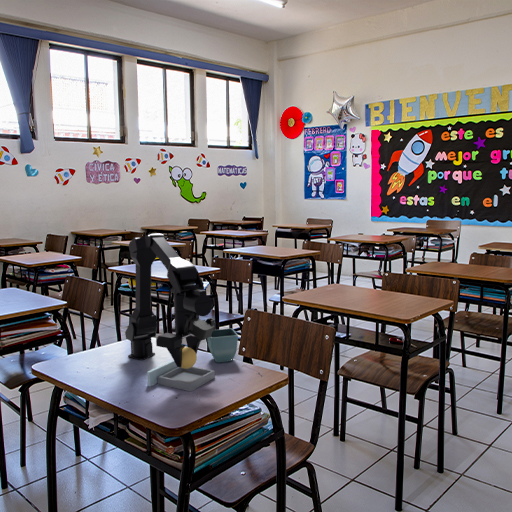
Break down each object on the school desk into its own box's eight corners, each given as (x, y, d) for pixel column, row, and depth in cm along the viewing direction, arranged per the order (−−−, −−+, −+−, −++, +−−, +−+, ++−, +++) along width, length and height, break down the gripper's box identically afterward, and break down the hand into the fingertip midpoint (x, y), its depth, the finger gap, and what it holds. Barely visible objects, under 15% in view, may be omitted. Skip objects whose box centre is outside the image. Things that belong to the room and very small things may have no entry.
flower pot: (211, 365, 153) (210, 337, 152) (206, 357, 161) (205, 330, 160) (239, 362, 155) (238, 335, 154) (232, 354, 164) (232, 328, 163)
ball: (171, 369, 139) (170, 348, 138) (184, 363, 144) (183, 343, 143) (188, 373, 136) (187, 351, 135) (201, 366, 141) (200, 346, 140)
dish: (158, 384, 138) (157, 376, 138) (183, 371, 148) (183, 364, 148) (191, 391, 133) (190, 383, 132) (214, 377, 143) (214, 370, 142)
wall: (147, 385, 137) (147, 371, 137) (179, 370, 149) (178, 357, 149) (150, 386, 137) (149, 372, 136) (181, 370, 149) (181, 357, 148)
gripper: (187, 320, 126) (189, 379, 128) (226, 306, 142) (227, 358, 144) (153, 315, 131) (155, 372, 133) (195, 302, 148) (196, 352, 149)
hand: (186, 363), depth 140 cm, fingers closed on ball, 6 cm apart
